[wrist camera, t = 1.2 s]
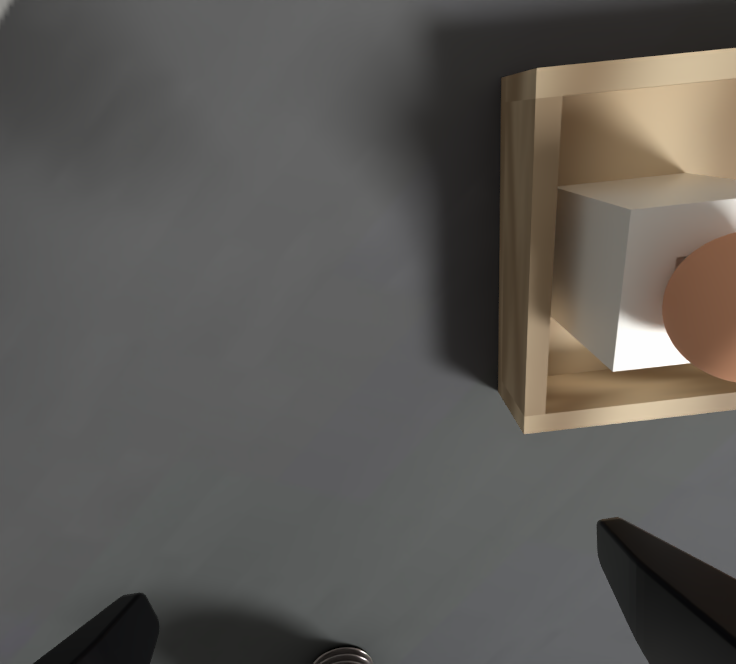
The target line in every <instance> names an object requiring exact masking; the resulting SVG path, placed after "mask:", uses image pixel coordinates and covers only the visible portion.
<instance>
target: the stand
mask: <svg viewBox="0 0 736 664" xmlns="http://www.w3.org/2000/svg"><path fill="white" fill-rule="evenodd" d="M735 232H736V180H733V179H726V178H719V177H712V176H705V175H698V174H691V173H679V174H669V175H660V176H651V177H641V178H632V179H622V180H613V181H604V182H594V183H585V184H575V185H566V186H558V188H557V207H556V225H555V244H554V262H553V281H552V299H551V317H552V318H553V319H554V320H556V321H557V322H558V323H559V324H560V325H561V326H562V327H563V328H564V329H566V330H567V331H568V332H569V333H570V334H571V335H572V336H573V337H574V338H576V339H577V340H578V341H579V342H580V343H581V344H582V345H583V346H585V347H586V348H587V349H588V350H589V351H590V352H591V353H592V354H593V355H595V356H596V357H597V358H598V359H599V360H600V361H601V362H602V363H603V364H605V365H606V366H607V367H608V368H609V369H610V370H611V371H612V372H616V371H624V370H633V369H642V368H651V367H660V366H668V365H677V364H686V363H690V362H689V361H688V360H686V359H685V358H684V357H683V356H682V355H681V354H680V353H679V351H678V350H677V349H676V348H675V346H674V345H673V344H672V342H671V340H670V338H669V336H668V334H667V332H666V329H665V326H664V322H663V316H662V304H663V296H664V292H665V289H666V286H667V284H668V281H669V280H670V278H671V276H672V274H673V273H674V271H675V270H676V268H677V267H678V266H679V265H680V264H681V262H682V261H683V260H684V259H685V258H687V257H688V256H689V255H690V254H691V253H693V252H694V251H695V250H697V249H698V248H700V247H701V246H703V245H704V244H706V243H708V242H710V241H712V240H714V239H717V238H719V237H722V236H725V235H728V234H731V233H735Z"/></svg>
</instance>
